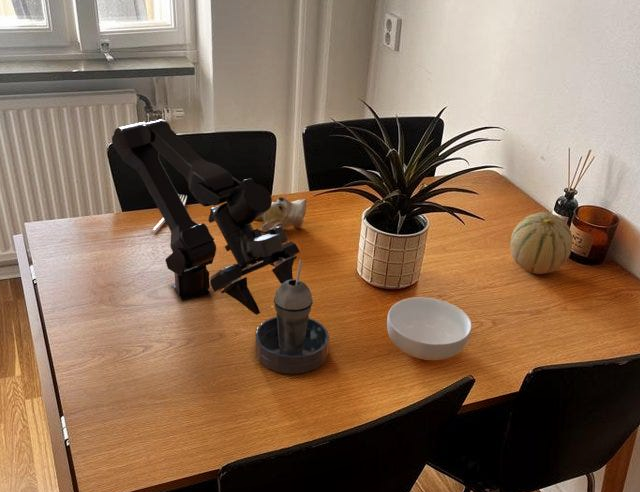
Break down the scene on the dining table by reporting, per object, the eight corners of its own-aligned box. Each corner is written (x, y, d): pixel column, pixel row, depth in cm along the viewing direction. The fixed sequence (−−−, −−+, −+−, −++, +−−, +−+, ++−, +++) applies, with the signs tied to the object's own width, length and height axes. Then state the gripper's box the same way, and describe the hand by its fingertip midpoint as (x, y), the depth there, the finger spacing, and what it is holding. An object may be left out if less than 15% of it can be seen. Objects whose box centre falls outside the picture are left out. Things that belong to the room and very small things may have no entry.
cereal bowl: (444, 384, 133) (450, 354, 129) (368, 352, 140) (372, 322, 136) (479, 343, 145) (485, 314, 142) (408, 315, 152) (412, 287, 148)
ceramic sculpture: (314, 201, 176) (257, 211, 171) (314, 232, 181) (259, 243, 176) (298, 185, 184) (243, 194, 179) (299, 215, 189) (245, 225, 184)
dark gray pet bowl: (272, 383, 129) (272, 363, 127) (244, 341, 140) (244, 323, 137) (339, 366, 135) (341, 347, 133) (308, 327, 145) (309, 309, 143)
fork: (147, 232, 175) (147, 225, 174) (177, 200, 191) (177, 193, 190) (160, 234, 174) (159, 227, 173) (188, 202, 191) (188, 195, 190)
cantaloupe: (544, 252, 182) (558, 199, 174) (576, 281, 171) (593, 225, 162) (493, 257, 178) (505, 202, 169) (523, 287, 166) (537, 230, 158)
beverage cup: (266, 344, 138) (268, 255, 127) (299, 336, 141) (304, 248, 130) (281, 365, 133) (285, 274, 122) (316, 356, 136) (322, 266, 125)
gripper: (218, 231, 122) (260, 310, 123) (295, 203, 134) (333, 275, 135) (192, 253, 131) (231, 327, 131) (266, 225, 143) (302, 293, 143)
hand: (276, 305), depth 135 cm, fingers open, 9 cm apart
